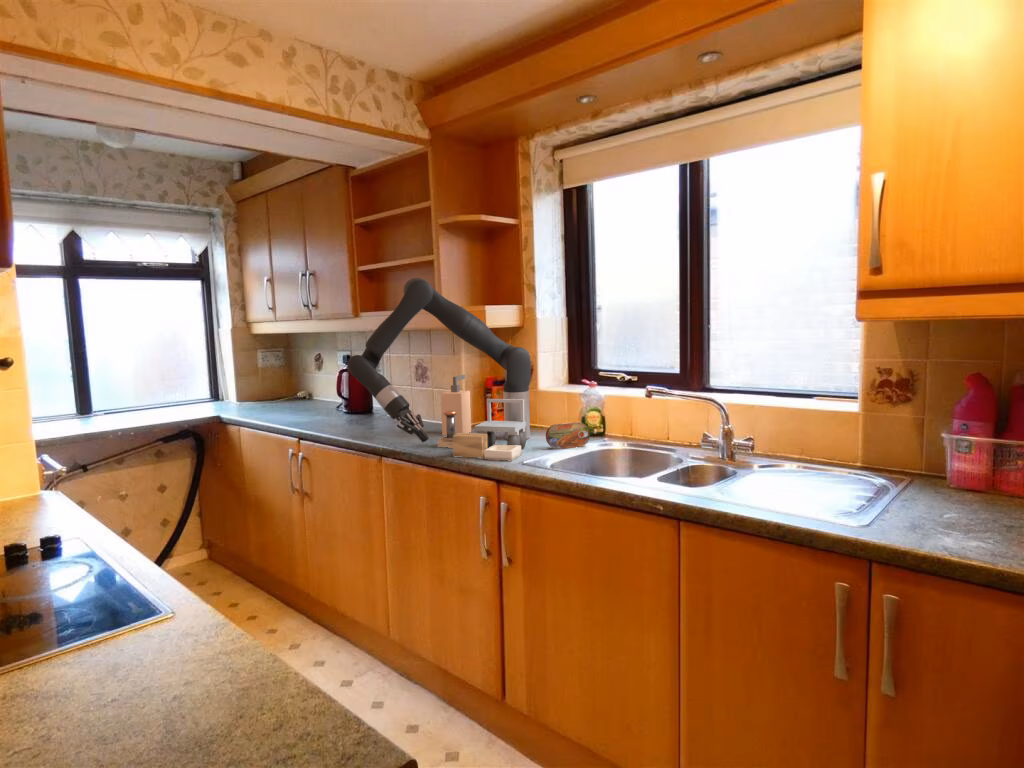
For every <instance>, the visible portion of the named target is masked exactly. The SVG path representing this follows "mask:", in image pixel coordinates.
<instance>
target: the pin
mask: <svg viewBox="0 0 1024 768" xmlns="http://www.w3.org/2000/svg"><path fill="white" fill-rule="evenodd" d="M456 414H457V411H444V415H446V431H447V439H453V435H455V415H456Z"/></svg>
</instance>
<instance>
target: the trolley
mask: <svg viewBox="0 0 1024 768" xmlns="http://www.w3.org/2000/svg"><path fill="white" fill-rule="evenodd" d="M504 402H505V403H520V415H521V421H504V420H492V408H491V407H492V406H491V405H492V404H491V403H504ZM486 414H487V420H485V421H483V422H480V423H479V424H476V425H474V431H475V432H476V434H487V444H488V447H491V446H493V445H496V439H497V438H496V433H497V432H498V433H505V432H508V435H509V436H508V439H506V445H518V446H521V450H524V449H525V447H526V443H527V439H526V434H525V432H524V431H525V427H526V422H524V399H504V398H487V399H486Z"/></svg>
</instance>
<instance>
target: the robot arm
mask: <svg viewBox="0 0 1024 768" xmlns="http://www.w3.org/2000/svg"><path fill="white" fill-rule="evenodd" d="M422 310H424V311H426V312H427V313H429V314H431V316H433V317H435V319H437V320H438V321H439V322H440V323H441V324H442V325H443V326H444V327H446V329H448V330H449V332H451V333H452V334H454V335H455V336H457V337H458V338H460V339H462V340H463V341H464V342H466V343H467V344H468V345H471V346H472V347H474V348H475V349H477V350H479V351H481V352H482V353H484V354H486V355H487V356H488V357H489V358H491V359H492V360H493V361H494V362H496V363H497V364H498V365H499V366H500V367H501V368H502V369H503V370H505V371H506V375H505V377H506V379H505V382H504V383H503V385H502V387H503V389H502V392H503V393H502V394H503V395H502V396H503V397H502V398H503V399H524V422H526V427H525V431H524V432H525V434H526V440H527V439H530V438H531V432H530V431H531V430H530V429H531V428H530V427H531V426H530V422H531V421H530V396H529V395H530V391H529V388H530V385H531V372H532V371H531V368H532V366H531V365H532V364H531V356H530V354H529V352H528V351H527V349H525V347H521V346H514V345H511V344H509V343H507V342H505V341H504V340H502V339H501V338H500V337H498V336H497V335H495V334H494V333H493V331H492V330H491V328H489V327H488V326H487V324H486V323H485V322H483V320H481V319H480V318H478V317H477V316H475V315H474V314H472V312H470V311H468V310H467V309H465V308H464V307H462V306H460V305H458V304H456V303H454V302H453V301H451V300H449V299H448V298H445V297H444V296H443V295H442V294H441V293H439V292H438V291H437V290H436V289H435V288H433V287H432V285H431V284H430V283H429V282H428V281H426V280H425V279H423V278H420V277H412V278H410V279H408V280H407V281H406V282H405V284H404V285H403V296H402V298H401V300H400V302H399V303H398V305H397V306H396V307H395V309H394V310H393V311H392V312H391V314H389V316H387V317H386V318H385V319H384V320H383V321H382V322H381V323H380V324H379V325H378V327H376V329H375V330H374V332H372V334H371V335H370V337H369V338H368V339H367V341H366V342H365V350H364V351H363V353H362V354H361V355H360V354H354V355H352V356H351V357H350V358H349V359H348V360H347V365H346V366H347V370H348V372H349V373H350V375H351V376H352V377H354V379H356V381H358V383H360V384H361V385H362V386H364V387H365V388H366V389H367V391H368V392H369V393H370V394H371V396H373V397H374V399H375V400H376V401H377V403H378V405H379V406H380V407H381V408H382V410H384V411H385V413H386V414H387V415H388V416H389V417H390V418H391V419H392V420H396V421H397V422H398V424H397V425H396V427H397V428H399V430H402V431H404V432H406V433H407V434H409V435H415V436H417V438H418V439H419V440H420V442H422V443H426V442H427V441H428V440H429V439H430V437H429V435H428V434H427V433H426V432H425V431H424V430H423V429H424V426H425V425H424V423H423V419H422V416H421V414H419V413H417V414H414V412H413V411H412V410H411V409H410V403H409V402H408V401H407V399H406V398H405V397H404V396H403V395H402V394H401V393H400V391H399V390H398V389H397V388H396V387H394V386H393V385H392V384H391V382H390V381H389V380H388V379H387V378H386V377H385V376H384V375H383V374H381V373H380V372H378V371H377V370H376V369H377V368H378V366H379V364H380V362H381V360H382V358H383V355H384V354H385V353H387V350H388V349H390V347H391V346H392V345H393V343H394V341H395V340H396V339H397V338H398V337H399V335H400V334H401V332H402V331H403V330H404V329H405V327H406V326H407V325H408V324H409V323H410V321H412V319H414V317H415V316H416V315H417V314H419V313H420V312H421V311H422ZM503 421H521V415H520V403H505V402H503ZM508 436H509V435H508V432H504V439H505V440H508Z"/></svg>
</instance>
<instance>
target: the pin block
mask: <svg viewBox="0 0 1024 768" xmlns="http://www.w3.org/2000/svg"><path fill="white" fill-rule="evenodd" d="M438 447H448V448H447V449H453V439H447V436H444V435H443V436H441V437H439V438H438V441H437V448H438Z"/></svg>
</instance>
